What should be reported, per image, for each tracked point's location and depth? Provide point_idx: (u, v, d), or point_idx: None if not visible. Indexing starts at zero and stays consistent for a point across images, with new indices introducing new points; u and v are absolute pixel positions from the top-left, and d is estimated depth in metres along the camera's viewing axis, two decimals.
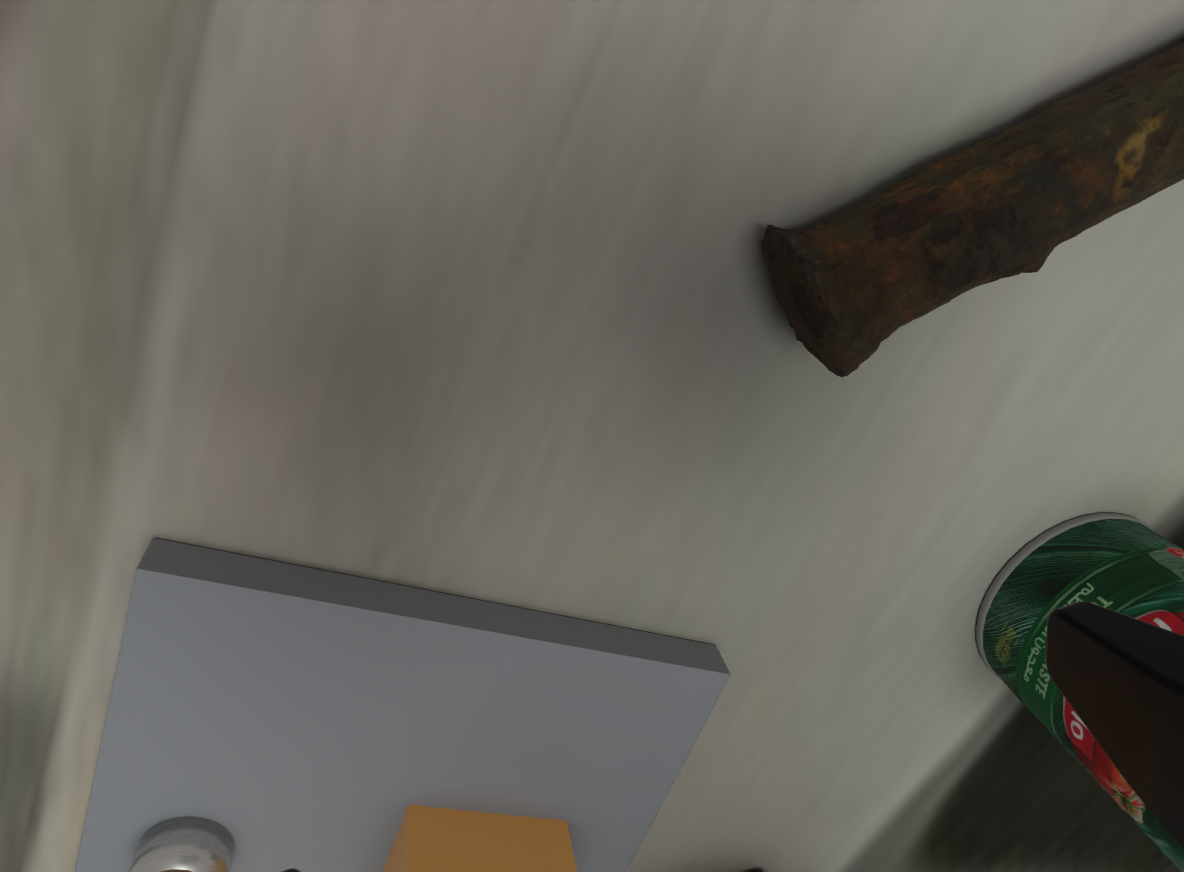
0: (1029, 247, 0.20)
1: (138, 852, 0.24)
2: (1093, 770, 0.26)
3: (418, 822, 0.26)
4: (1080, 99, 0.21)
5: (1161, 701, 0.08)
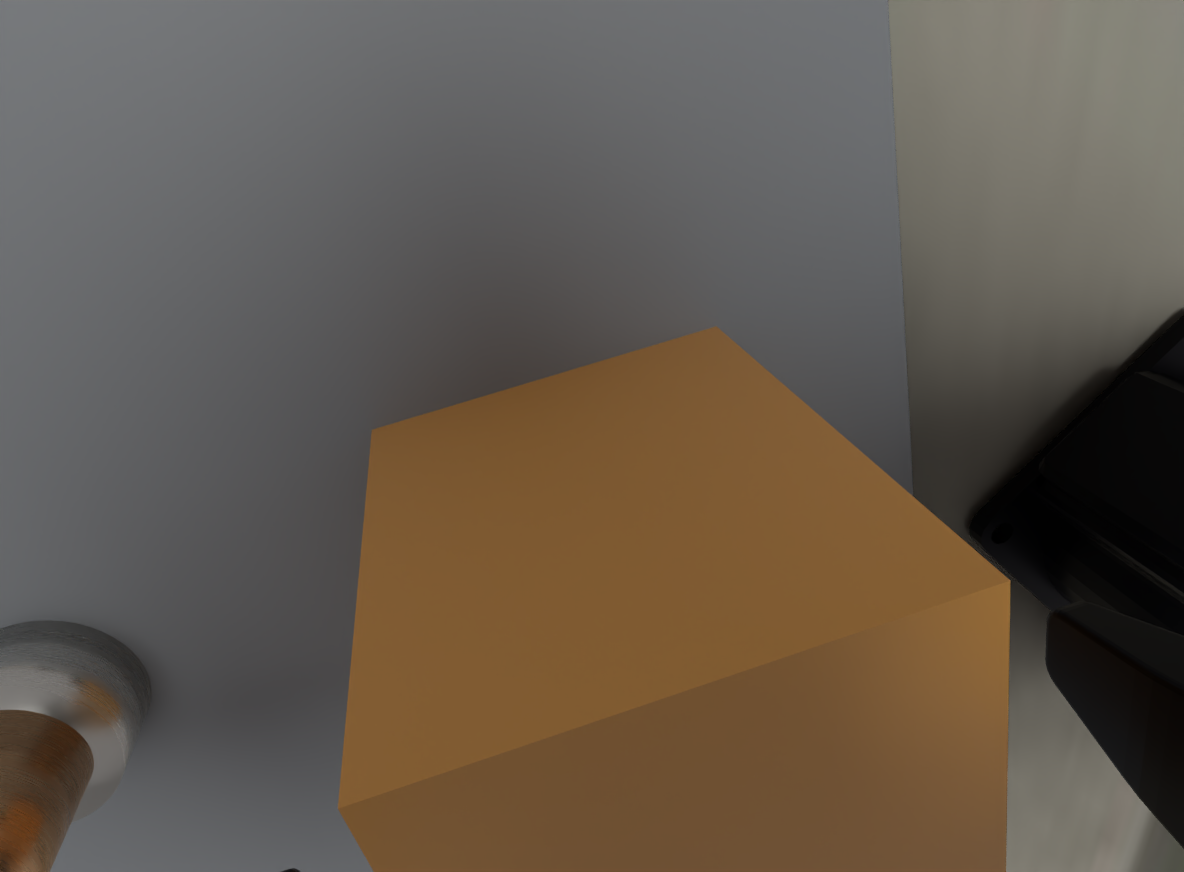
0: None
1: None
2: None
3: (391, 441, 0.12)
4: None
5: (1161, 701, 0.08)
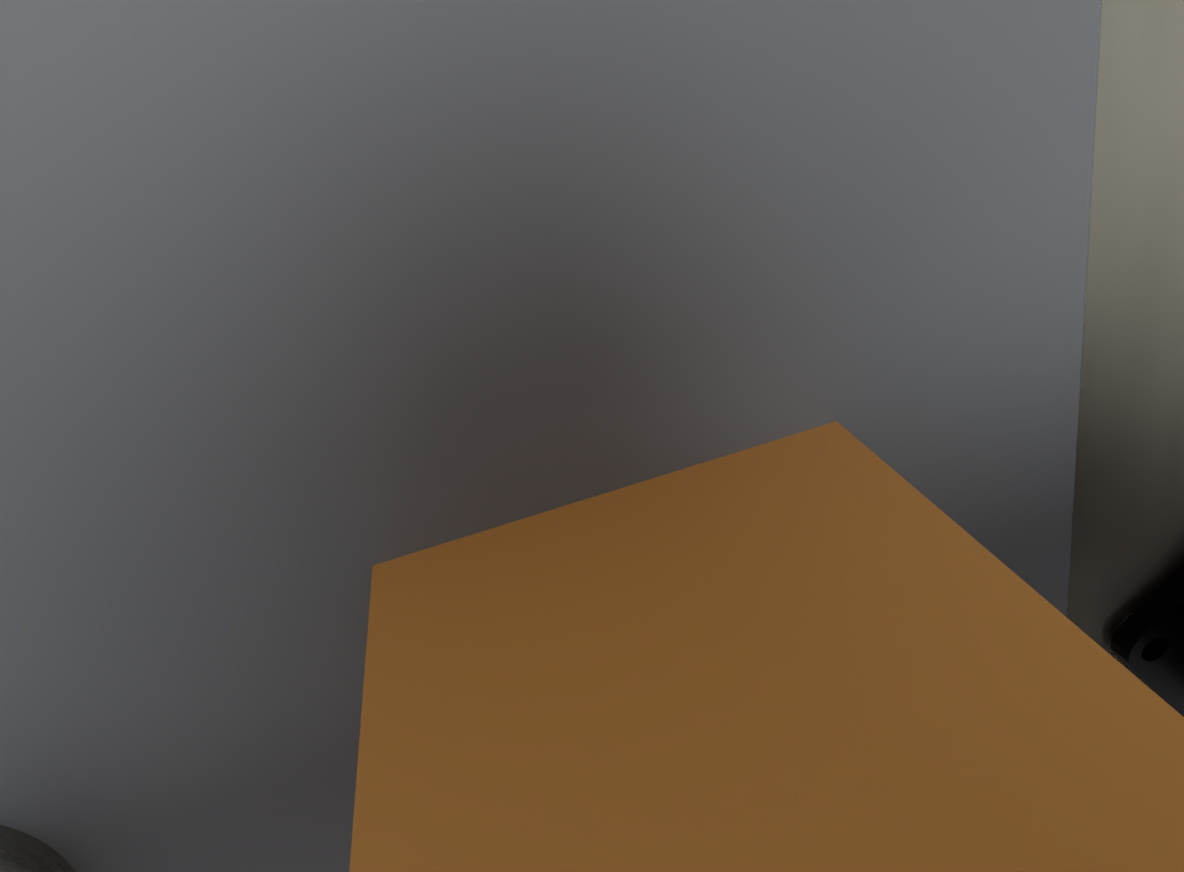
0: None
1: None
2: None
3: (399, 591, 0.08)
4: None
5: None
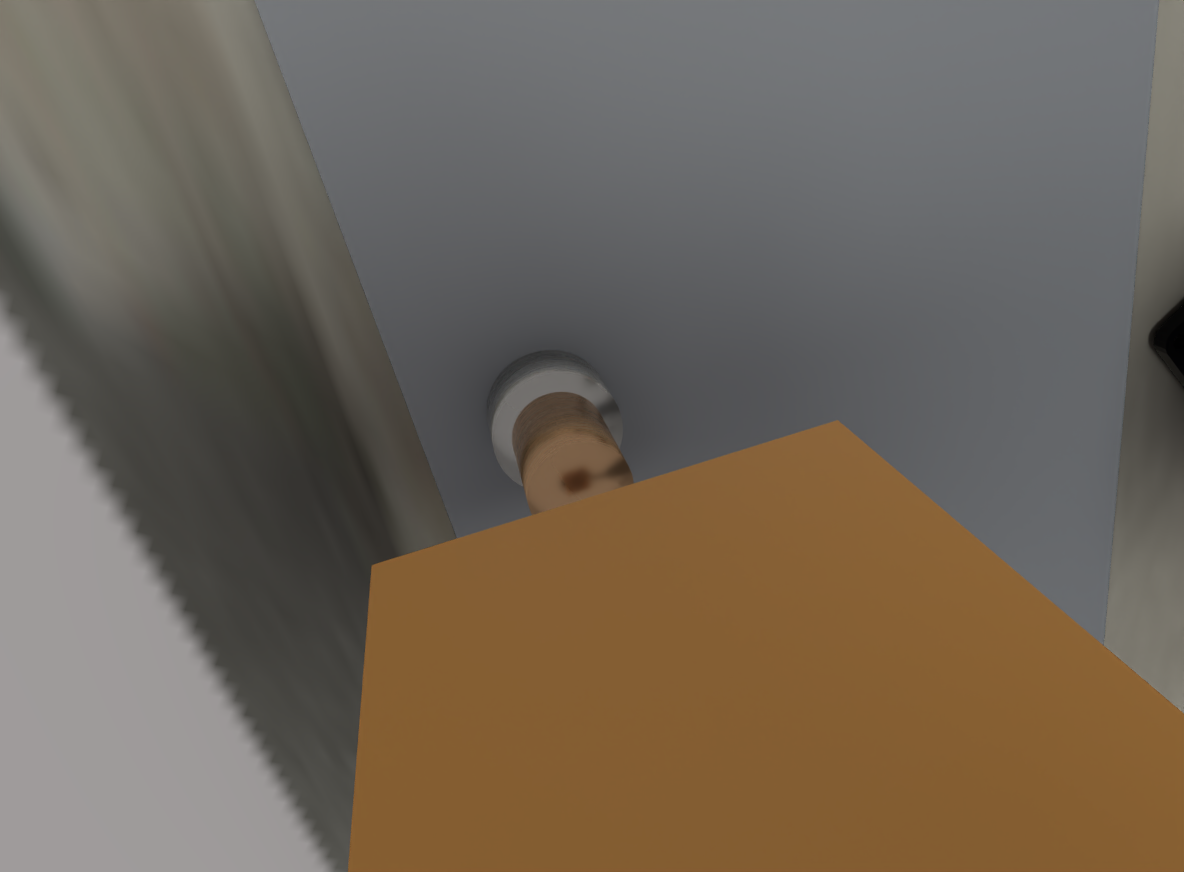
0: None
1: (489, 415, 0.17)
2: None
3: (399, 590, 0.08)
4: None
5: None
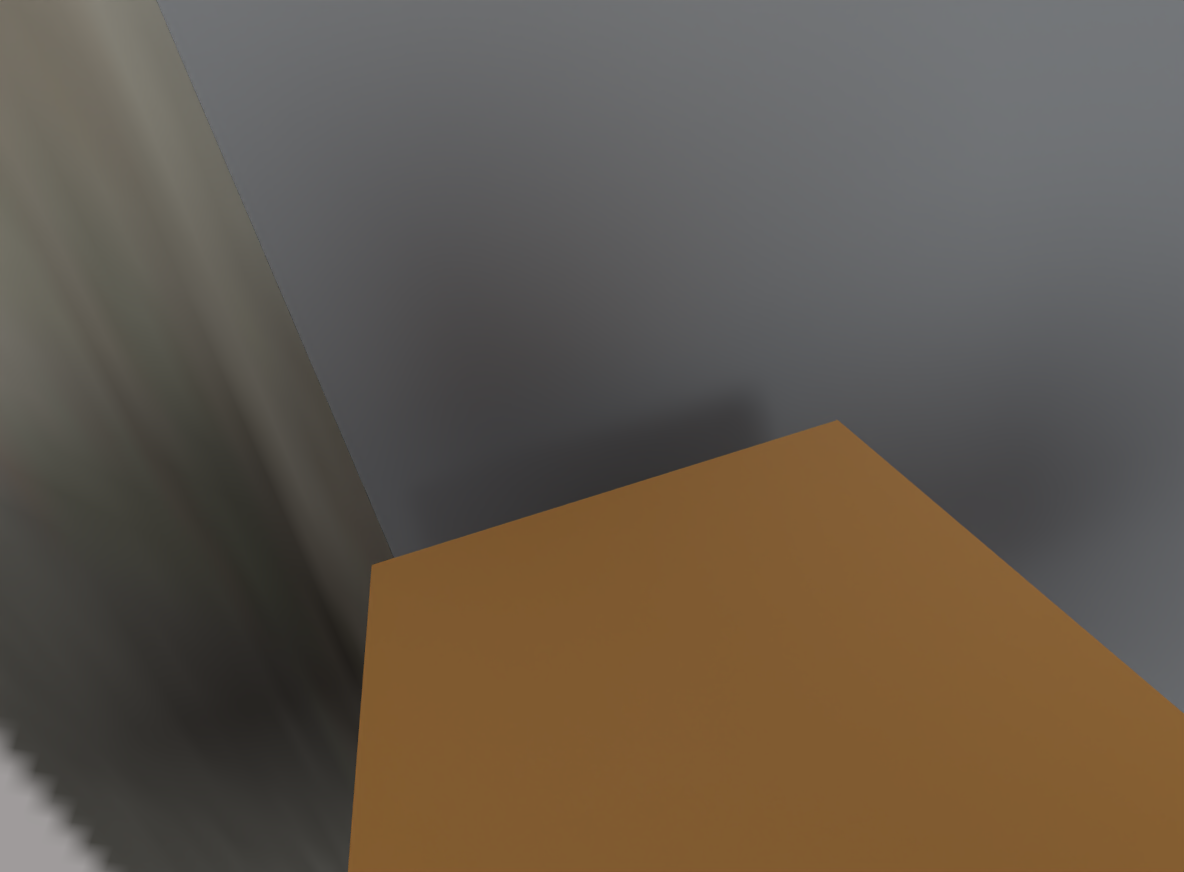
0: None
1: None
2: None
3: (399, 590, 0.08)
4: None
5: None
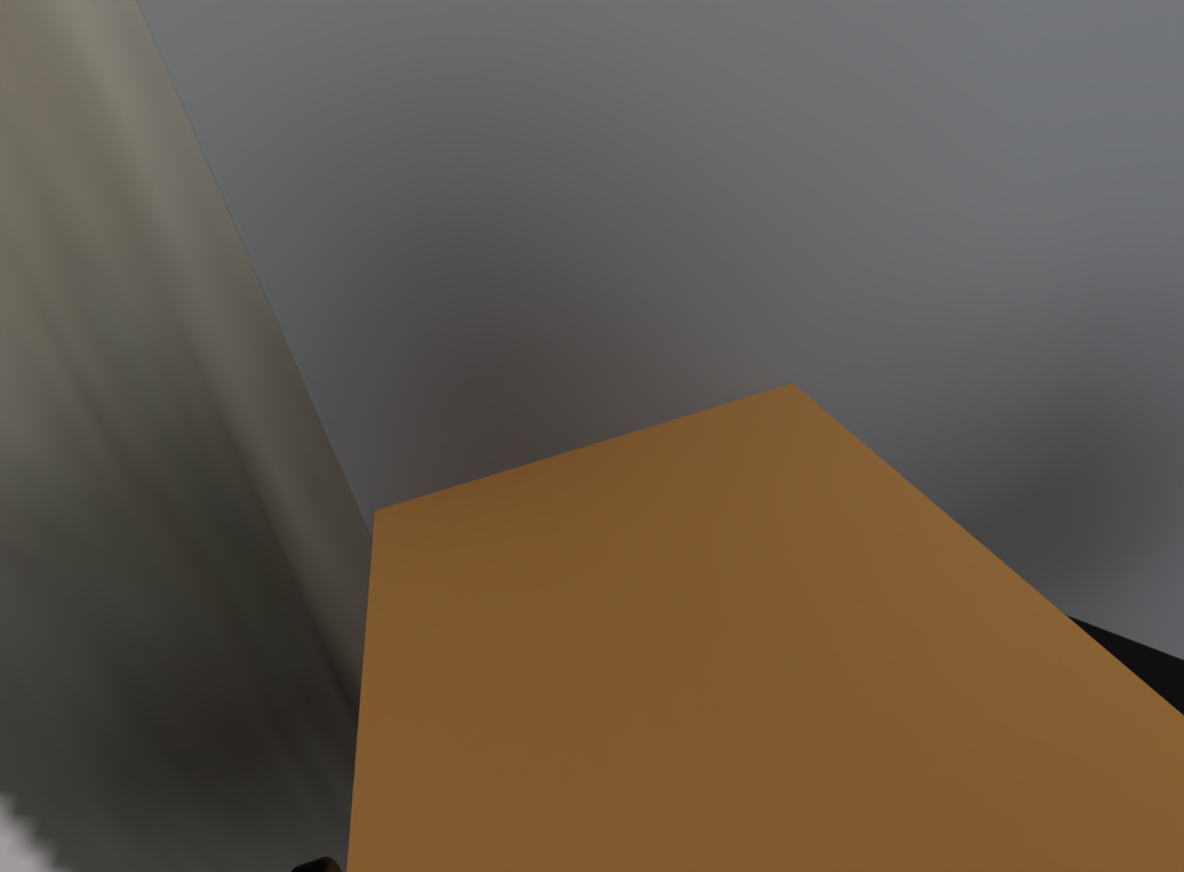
0: None
1: None
2: None
3: (399, 530, 0.10)
4: None
5: None
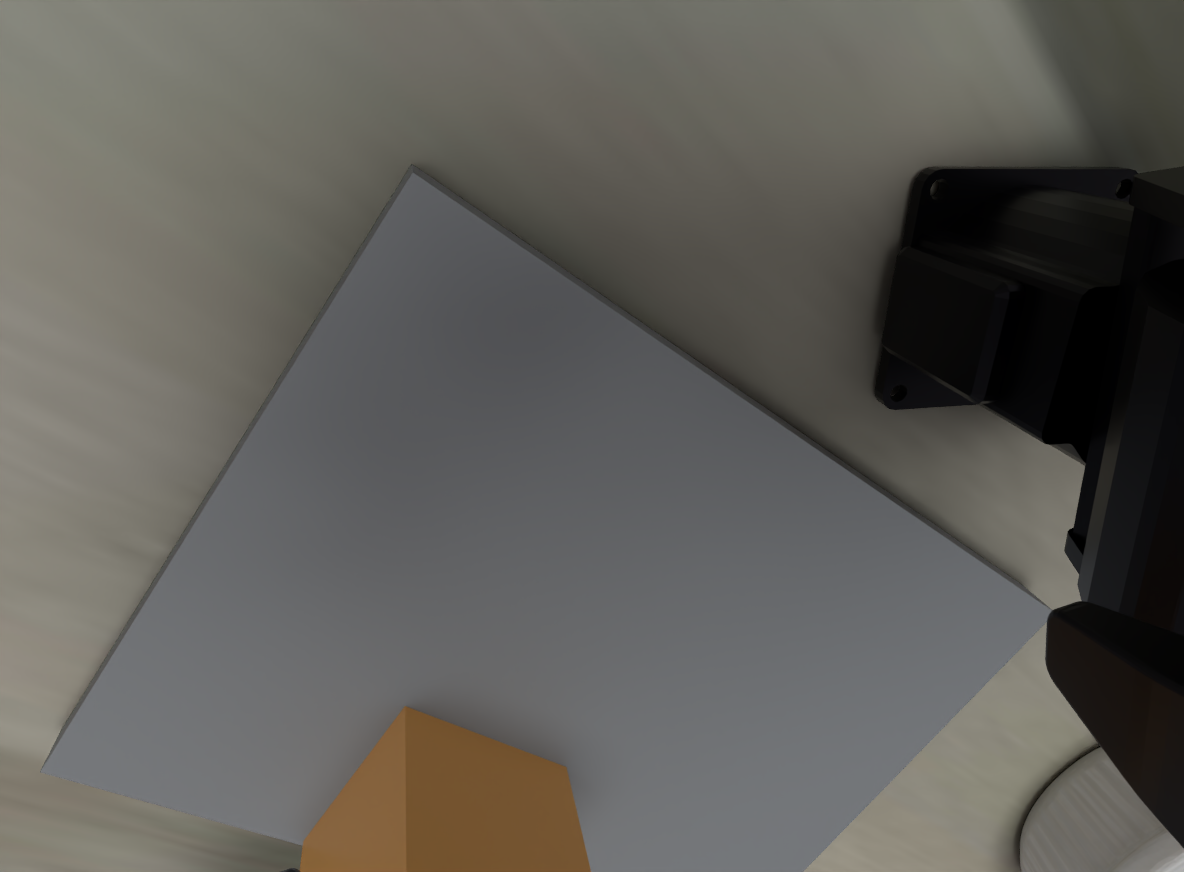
0: None
1: None
2: None
3: (306, 853, 0.23)
4: None
5: (1161, 702, 0.08)
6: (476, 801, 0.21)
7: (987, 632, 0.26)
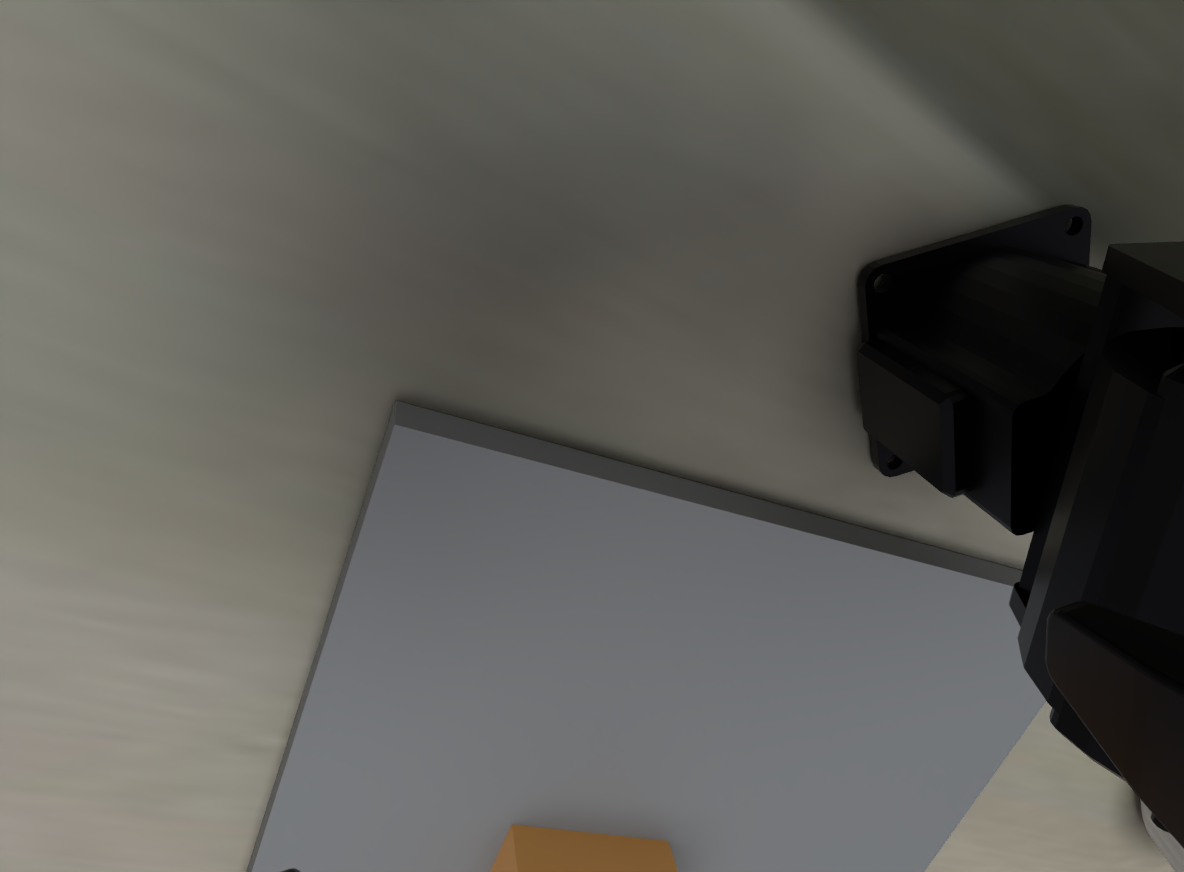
0: None
1: None
2: None
3: None
4: None
5: (1161, 701, 0.08)
6: None
7: None
